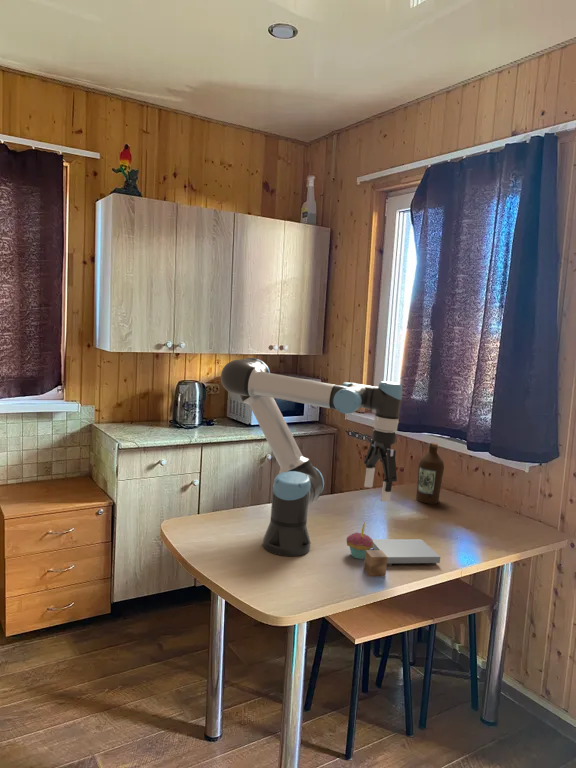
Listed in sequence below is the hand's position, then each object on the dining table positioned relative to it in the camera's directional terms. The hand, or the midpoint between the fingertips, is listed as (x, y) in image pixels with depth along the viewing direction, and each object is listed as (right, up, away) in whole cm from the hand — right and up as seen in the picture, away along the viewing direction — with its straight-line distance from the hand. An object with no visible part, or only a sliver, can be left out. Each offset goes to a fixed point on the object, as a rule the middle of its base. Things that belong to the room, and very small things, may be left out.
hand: (376, 493), depth 190 cm
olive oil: (+31, -14, +61) cm, 69 cm away
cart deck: (+8, -20, -2) cm, 22 cm away
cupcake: (-6, -19, -4) cm, 21 cm away
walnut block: (-3, -21, -16) cm, 26 cm away
